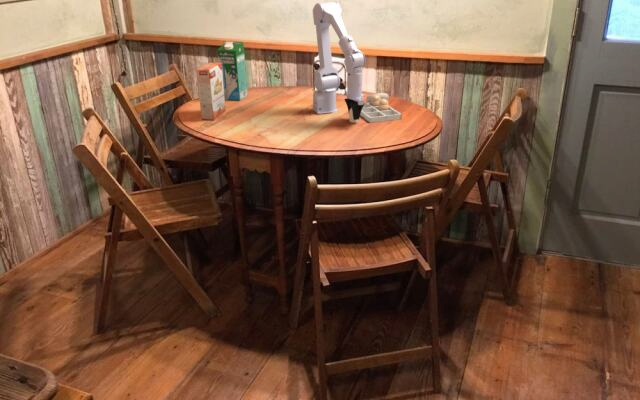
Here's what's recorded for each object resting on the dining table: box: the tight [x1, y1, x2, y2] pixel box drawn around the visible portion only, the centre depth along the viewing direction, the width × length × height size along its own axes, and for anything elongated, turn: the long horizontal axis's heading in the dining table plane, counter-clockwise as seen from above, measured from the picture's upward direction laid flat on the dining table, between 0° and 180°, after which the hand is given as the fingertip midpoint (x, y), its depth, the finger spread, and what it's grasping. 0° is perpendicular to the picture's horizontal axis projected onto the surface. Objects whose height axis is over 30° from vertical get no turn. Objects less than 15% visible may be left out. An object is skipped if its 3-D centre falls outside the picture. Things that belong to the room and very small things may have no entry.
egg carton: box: [360, 102, 403, 124], centre depth 227 cm, size 14×20×2 cm
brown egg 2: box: [379, 99, 389, 111], centre depth 227 cm, size 4×4×6 cm
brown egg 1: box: [371, 95, 381, 107], centre depth 233 cm, size 4×4×6 cm
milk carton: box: [217, 41, 249, 102], centre depth 250 cm, size 9×9×25 cm
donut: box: [365, 92, 390, 103], centre depth 239 cm, size 10×4×10 cm
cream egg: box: [348, 108, 360, 124], centre depth 218 cm, size 4×4×6 cm
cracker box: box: [196, 62, 226, 121], centre depth 227 cm, size 14×6×21 cm, turn 168°
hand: (354, 117), depth 219 cm, fingers closed on cream egg, 4 cm apart
